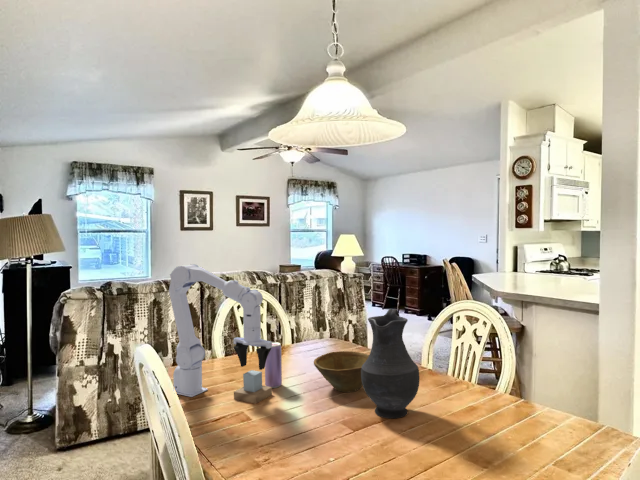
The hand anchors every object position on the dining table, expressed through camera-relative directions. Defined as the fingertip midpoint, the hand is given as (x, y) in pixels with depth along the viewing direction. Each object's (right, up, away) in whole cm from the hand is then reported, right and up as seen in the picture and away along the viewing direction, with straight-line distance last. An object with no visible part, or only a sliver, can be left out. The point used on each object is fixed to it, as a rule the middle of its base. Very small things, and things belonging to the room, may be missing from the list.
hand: (252, 367), depth 146 cm
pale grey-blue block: (0, -7, 0) cm, 7 cm away
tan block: (0, -10, 0) cm, 10 cm away
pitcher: (+44, -10, -13) cm, 47 cm away
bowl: (+32, -10, +8) cm, 34 cm away
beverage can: (+6, -10, +11) cm, 16 cm away
